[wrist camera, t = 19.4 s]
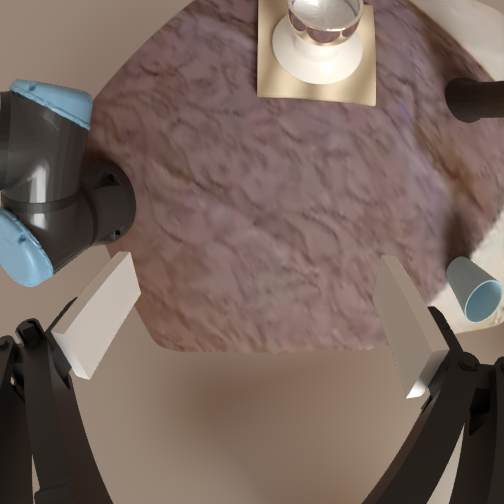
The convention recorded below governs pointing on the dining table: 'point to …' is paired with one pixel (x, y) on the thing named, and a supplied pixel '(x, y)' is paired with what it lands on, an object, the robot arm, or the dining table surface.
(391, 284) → the robot arm
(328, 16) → the beer glass
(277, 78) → the birch board
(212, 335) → the dining table surface
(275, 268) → the dining table surface
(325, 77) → the saucer
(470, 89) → the flared trumpet-armed statue
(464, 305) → the cup
